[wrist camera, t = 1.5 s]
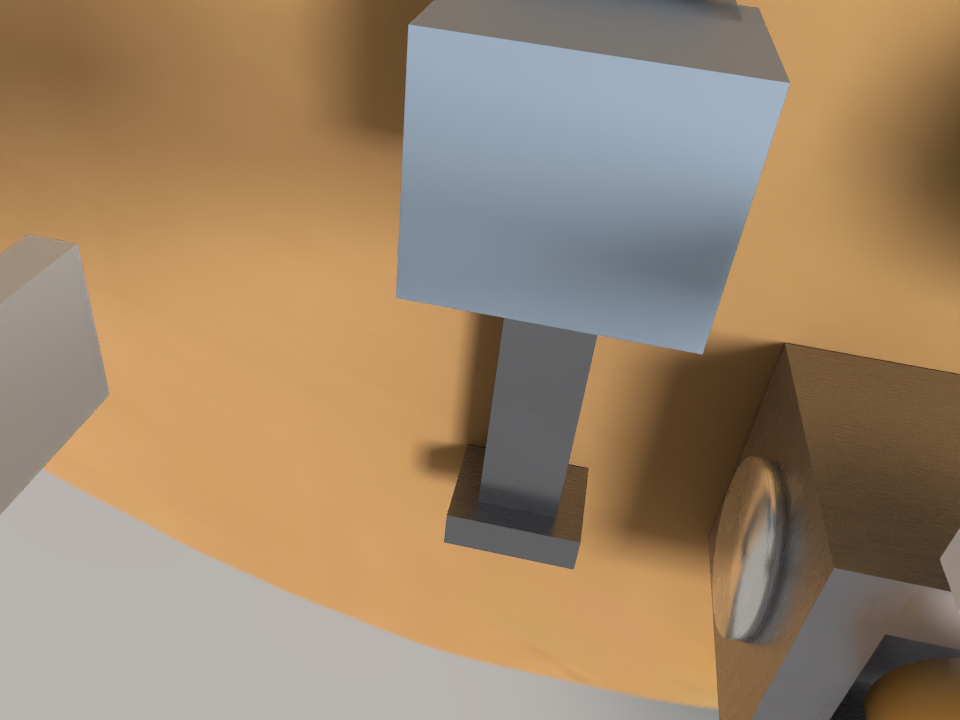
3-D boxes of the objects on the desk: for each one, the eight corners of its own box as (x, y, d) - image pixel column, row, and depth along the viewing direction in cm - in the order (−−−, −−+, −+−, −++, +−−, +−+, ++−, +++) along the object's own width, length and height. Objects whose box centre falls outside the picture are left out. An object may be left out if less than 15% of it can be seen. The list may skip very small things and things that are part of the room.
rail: (538, -135, 21) (516, -120, 18) (730, -109, 21) (742, -90, 18) (464, 470, 34) (443, 542, 31) (581, 494, 34) (573, 569, 31)
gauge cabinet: (767, 340, 28) (809, 562, 20) (1088, 398, 27) (1266, 656, 19) (694, 535, 34) (703, 767, 26) (955, 588, 33) (1048, 846, 25)
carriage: (486, -51, 22) (408, 24, 15) (750, -12, 21) (790, 83, 14) (466, 162, 25) (396, 298, 19) (691, 200, 25) (702, 354, 18)
